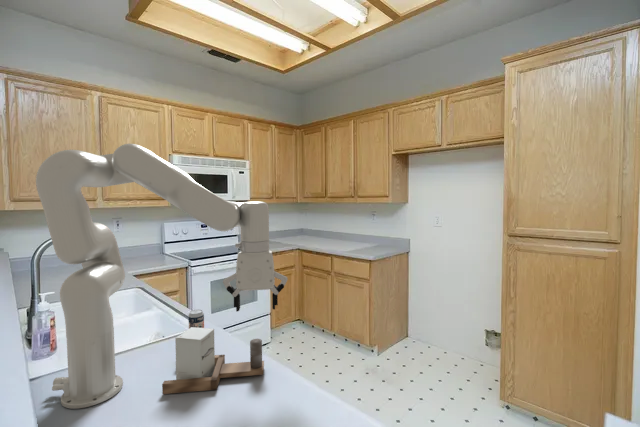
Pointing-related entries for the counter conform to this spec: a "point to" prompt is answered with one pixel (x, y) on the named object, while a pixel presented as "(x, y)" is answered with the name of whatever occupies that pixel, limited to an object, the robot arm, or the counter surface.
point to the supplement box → (195, 353)
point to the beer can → (196, 319)
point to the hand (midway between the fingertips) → (256, 308)
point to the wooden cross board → (220, 372)
